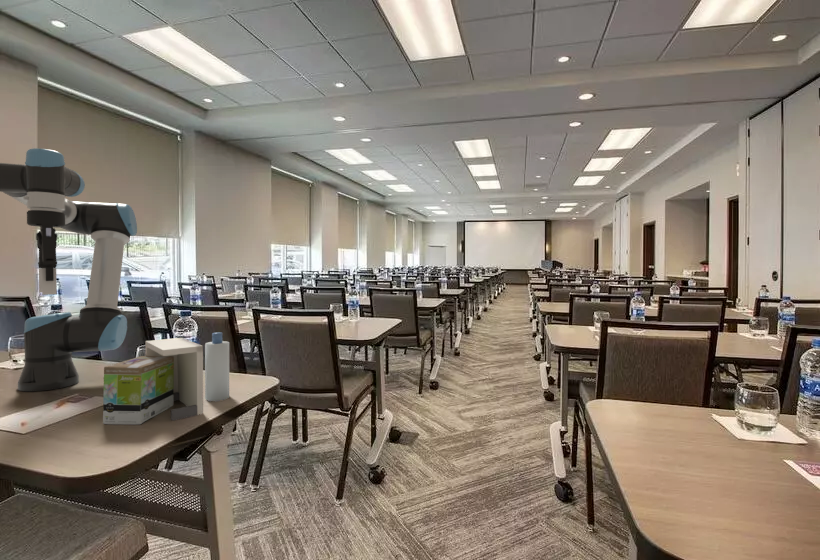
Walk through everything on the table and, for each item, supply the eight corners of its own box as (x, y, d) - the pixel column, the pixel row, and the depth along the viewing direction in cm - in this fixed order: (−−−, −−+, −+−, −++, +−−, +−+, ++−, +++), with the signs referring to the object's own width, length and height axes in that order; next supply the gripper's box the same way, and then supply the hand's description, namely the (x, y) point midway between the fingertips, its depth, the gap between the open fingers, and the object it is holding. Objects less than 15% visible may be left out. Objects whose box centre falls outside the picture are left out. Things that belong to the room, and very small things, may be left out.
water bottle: (202, 399, 128) (201, 332, 128) (224, 394, 133) (224, 330, 133) (209, 404, 124) (209, 335, 123) (232, 399, 128) (232, 333, 128)
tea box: (142, 425, 107) (141, 366, 106) (101, 425, 107) (101, 366, 106) (175, 406, 122) (174, 354, 121) (139, 406, 122) (139, 354, 121)
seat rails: (154, 404, 123) (154, 395, 123) (177, 400, 127) (177, 391, 127) (172, 420, 110) (172, 410, 110) (197, 415, 114) (197, 405, 114)
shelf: (146, 405, 122) (145, 341, 122) (182, 398, 129) (181, 337, 129) (163, 422, 109) (163, 350, 108) (203, 413, 115) (202, 345, 115)
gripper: (25, 214, 116) (26, 292, 117) (28, 204, 98) (30, 296, 99) (60, 216, 121) (61, 291, 122) (70, 207, 103) (71, 294, 104)
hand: (47, 293), depth 110 cm, fingers open, 13 cm apart
